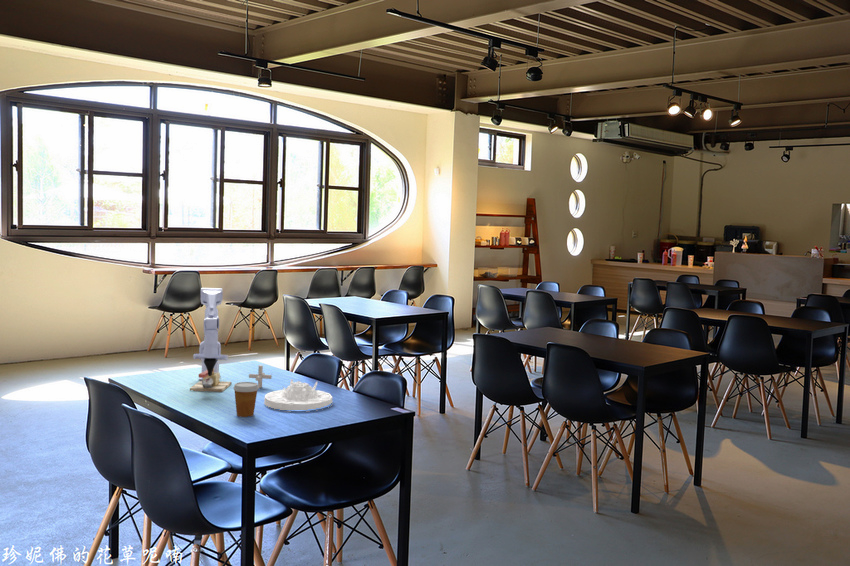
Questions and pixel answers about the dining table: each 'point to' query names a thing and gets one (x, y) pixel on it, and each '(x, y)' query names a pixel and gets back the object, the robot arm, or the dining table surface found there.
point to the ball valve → (211, 380)
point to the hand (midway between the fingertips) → (210, 375)
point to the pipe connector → (260, 376)
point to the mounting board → (218, 388)
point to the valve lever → (204, 374)
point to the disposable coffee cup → (245, 398)
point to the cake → (298, 397)
